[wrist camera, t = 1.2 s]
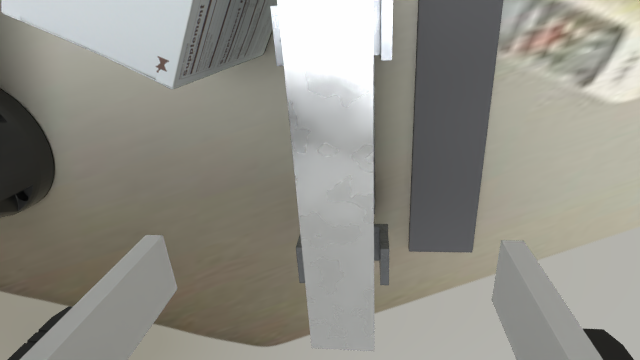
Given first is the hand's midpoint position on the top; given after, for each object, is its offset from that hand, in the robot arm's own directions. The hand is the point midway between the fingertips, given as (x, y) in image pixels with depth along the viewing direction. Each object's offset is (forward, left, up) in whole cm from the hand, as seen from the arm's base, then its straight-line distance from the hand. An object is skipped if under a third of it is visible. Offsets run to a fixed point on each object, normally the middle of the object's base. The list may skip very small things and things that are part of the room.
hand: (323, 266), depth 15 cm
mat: (+9, -1, -23) cm, 24 cm away
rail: (0, 0, -14) cm, 14 cm away
